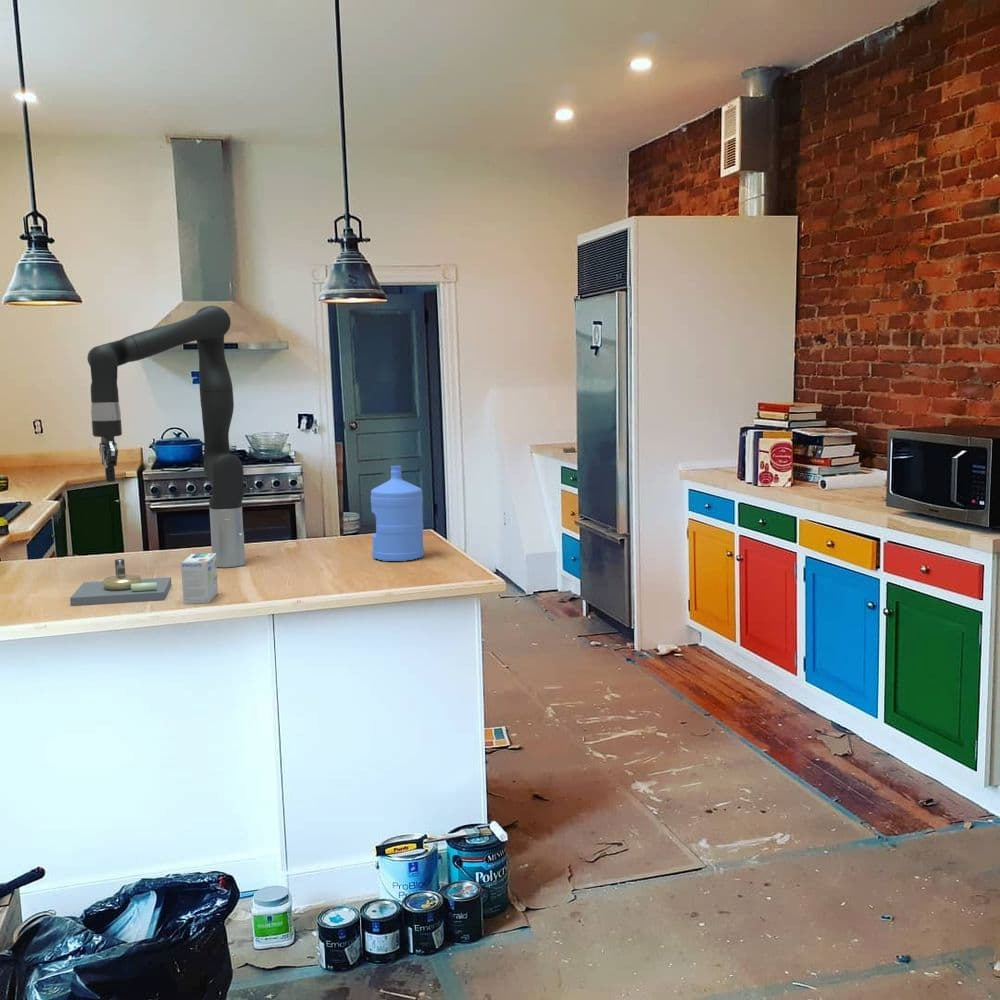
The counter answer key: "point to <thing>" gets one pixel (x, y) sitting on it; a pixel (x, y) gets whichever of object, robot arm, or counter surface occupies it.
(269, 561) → the counter surface
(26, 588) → the counter surface
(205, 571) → the light bulb box
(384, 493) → the water jug
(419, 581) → the counter surface
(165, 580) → the instrument base
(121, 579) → the tan disc with handle
